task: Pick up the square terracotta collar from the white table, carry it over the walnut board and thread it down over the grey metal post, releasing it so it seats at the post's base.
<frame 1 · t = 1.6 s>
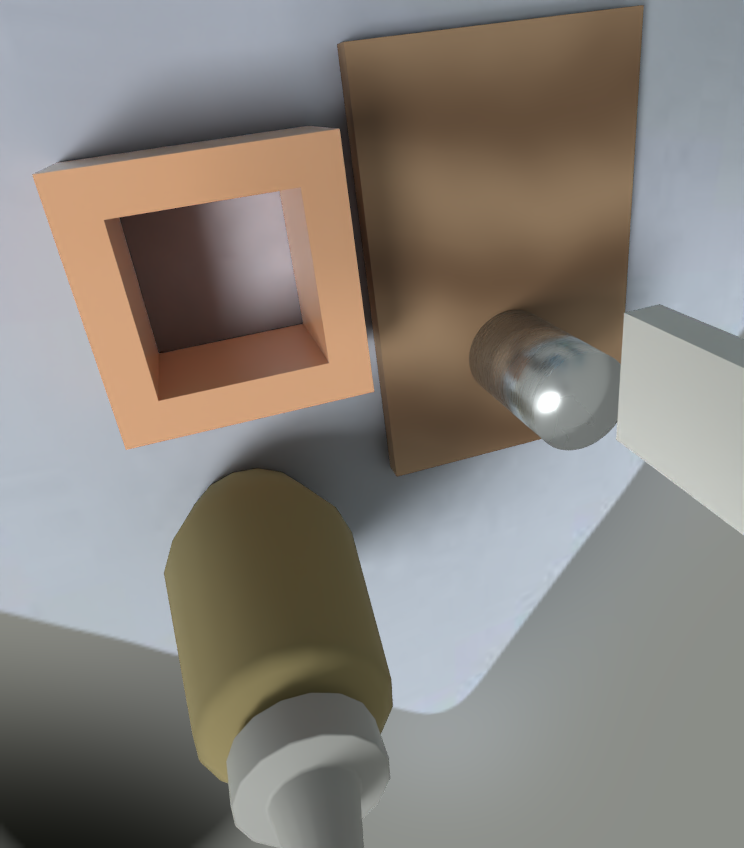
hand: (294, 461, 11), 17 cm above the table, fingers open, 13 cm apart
post: (499, 345, 31), resting on board
board: (496, 261, 29), on the table
collar: (215, 266, 26), on the table
squeeze bottle: (252, 518, 31), on the table
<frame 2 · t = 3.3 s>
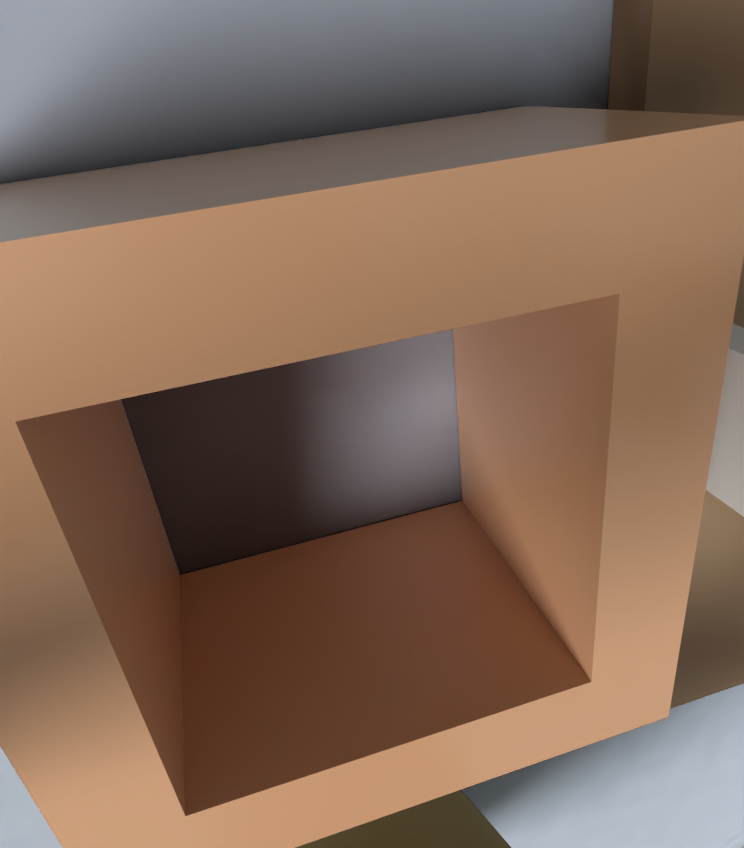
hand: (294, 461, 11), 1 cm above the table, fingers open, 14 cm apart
collar: (303, 408, 12), on the table
squeeze bottle: (337, 800, 18), on the table
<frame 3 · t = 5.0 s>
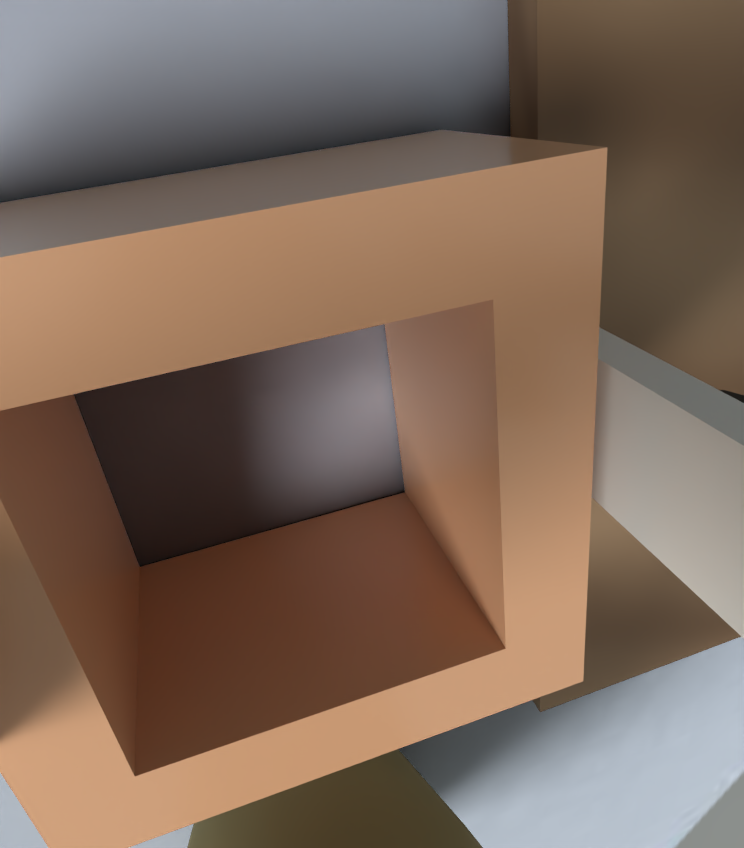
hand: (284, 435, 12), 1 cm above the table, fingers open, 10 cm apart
board: (731, 364, 16), on the table
collar: (248, 408, 13), on the table, touching gripper
squeeze bottle: (300, 783, 19), on the table
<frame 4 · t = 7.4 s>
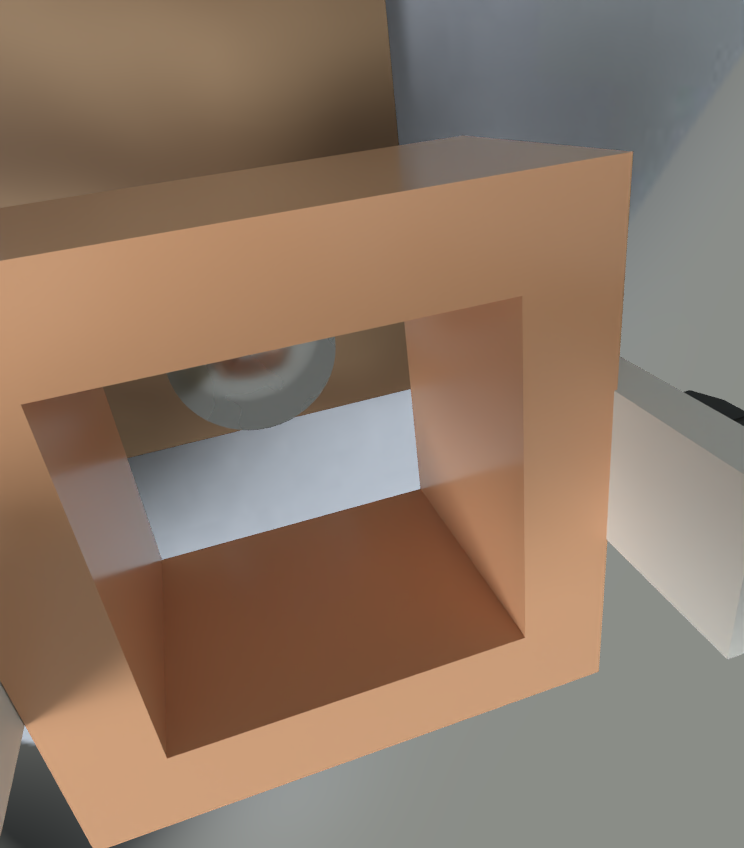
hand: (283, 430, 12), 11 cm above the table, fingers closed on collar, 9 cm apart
post: (225, 279, 21), resting on board
board: (194, 147, 19), on the table
collar: (271, 405, 13), point 9 cm above the table, touching gripper
when the fingers open (2 cm above the table, at t = 9.7 s): collar stays where it is, resting on board.
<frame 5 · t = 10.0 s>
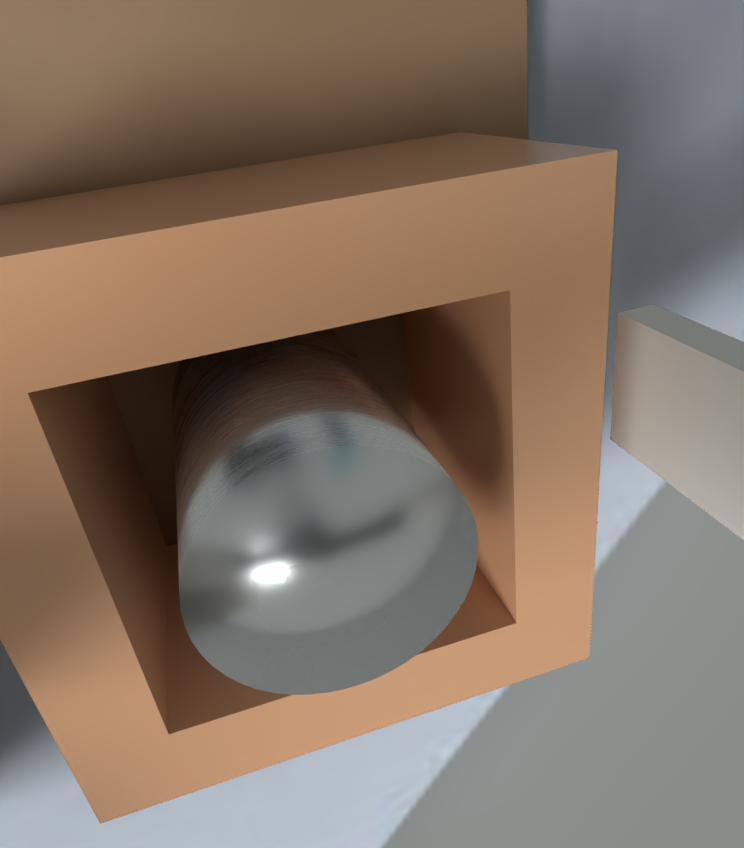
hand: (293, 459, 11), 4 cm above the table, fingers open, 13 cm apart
post: (265, 382, 15), resting on board
board: (223, 196, 13), on the table
collar: (272, 396, 14), point 1 cm above the table, touching board
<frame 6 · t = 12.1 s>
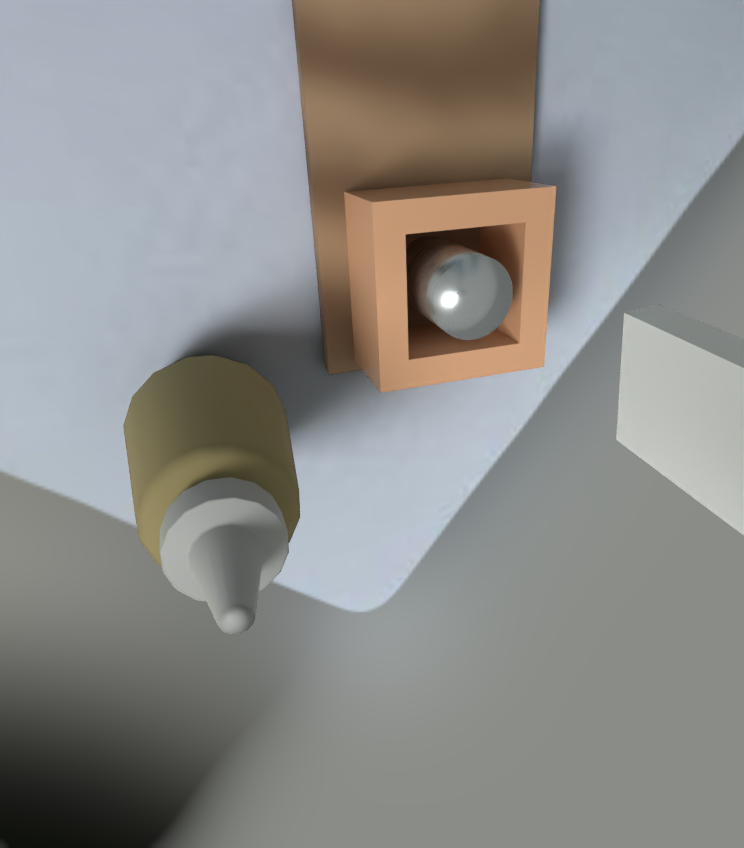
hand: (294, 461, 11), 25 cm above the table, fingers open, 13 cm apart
post: (422, 269, 37), resting on board
board: (420, 194, 35), on the table
collar: (429, 271, 36), point 1 cm above the table, touching board
squeeze bottle: (204, 403, 36), on the table
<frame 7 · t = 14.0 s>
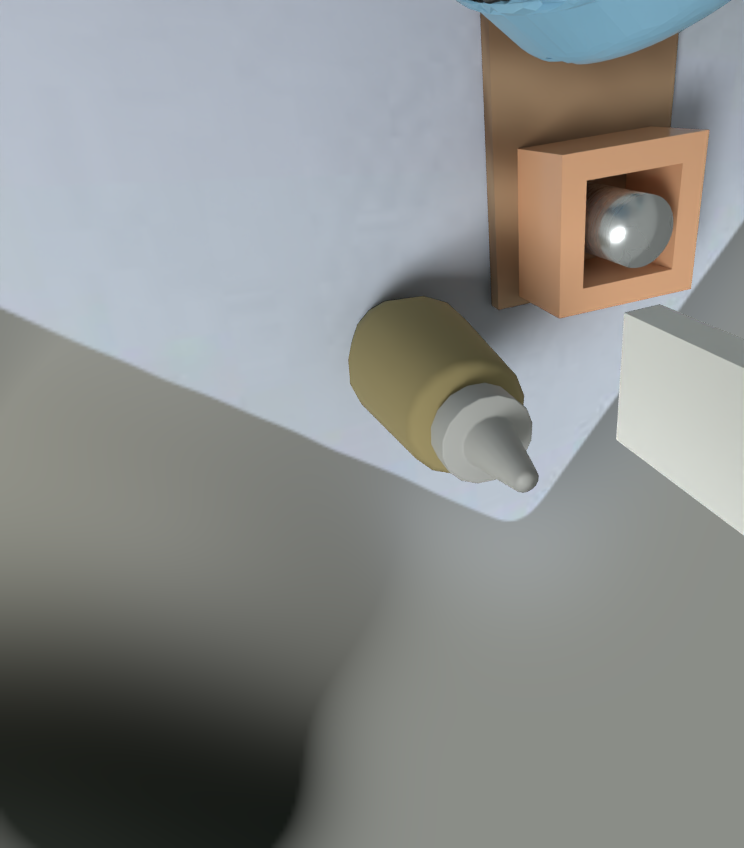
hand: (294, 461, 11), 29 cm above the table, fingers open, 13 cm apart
post: (573, 212, 42), resting on board
board: (575, 146, 40), on the table
collar: (582, 213, 41), point 1 cm above the table, touching board
squeeze bottle: (393, 341, 43), on the table
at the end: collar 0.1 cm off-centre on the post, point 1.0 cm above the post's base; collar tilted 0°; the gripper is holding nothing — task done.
